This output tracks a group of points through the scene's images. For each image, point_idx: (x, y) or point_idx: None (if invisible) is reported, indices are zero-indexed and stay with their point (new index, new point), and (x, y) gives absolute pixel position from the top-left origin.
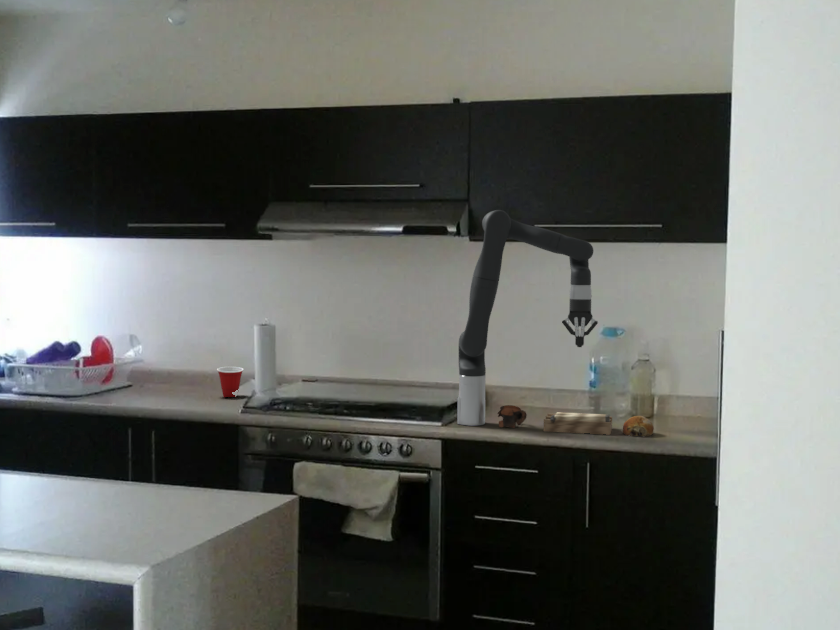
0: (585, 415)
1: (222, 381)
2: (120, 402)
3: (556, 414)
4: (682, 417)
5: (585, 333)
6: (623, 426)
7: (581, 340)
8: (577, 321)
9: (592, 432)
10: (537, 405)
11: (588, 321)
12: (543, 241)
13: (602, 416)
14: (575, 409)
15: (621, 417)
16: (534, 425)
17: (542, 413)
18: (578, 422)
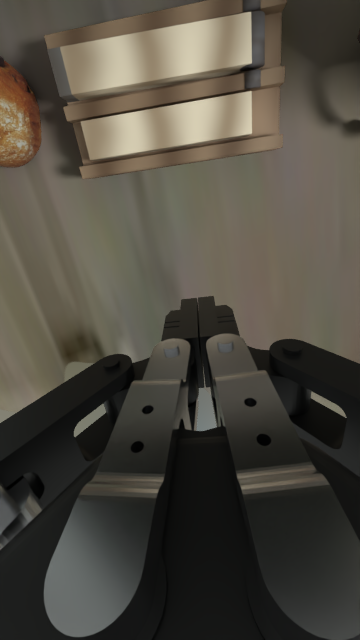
0: (137, 62)
1: None
2: None
3: (248, 91)
4: (11, 374)
5: (130, 362)
6: (24, 90)
7: (179, 323)
8: (250, 483)
9: None
10: (317, 400)
11: (32, 524)
12: None
13: (70, 46)
14: None
15: (118, 333)
16: (312, 122)
17: (300, 317)
18: (154, 13)
